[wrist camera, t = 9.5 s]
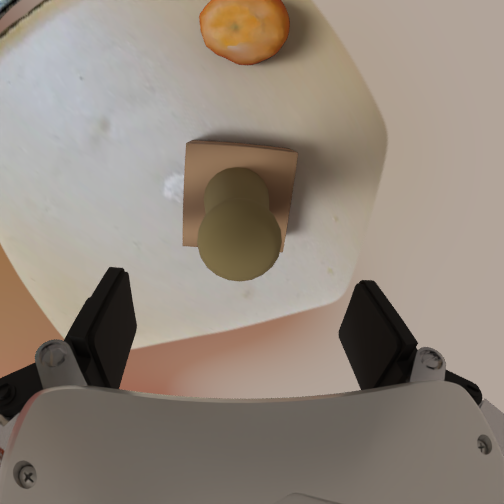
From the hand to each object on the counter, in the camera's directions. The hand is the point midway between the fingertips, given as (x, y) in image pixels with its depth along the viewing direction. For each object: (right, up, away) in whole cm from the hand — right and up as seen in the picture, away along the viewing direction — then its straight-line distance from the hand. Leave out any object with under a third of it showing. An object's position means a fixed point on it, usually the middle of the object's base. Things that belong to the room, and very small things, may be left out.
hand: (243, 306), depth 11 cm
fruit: (0, +24, +11) cm, 26 cm away
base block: (-1, +9, +18) cm, 20 cm away
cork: (-1, +7, +15) cm, 17 cm away
